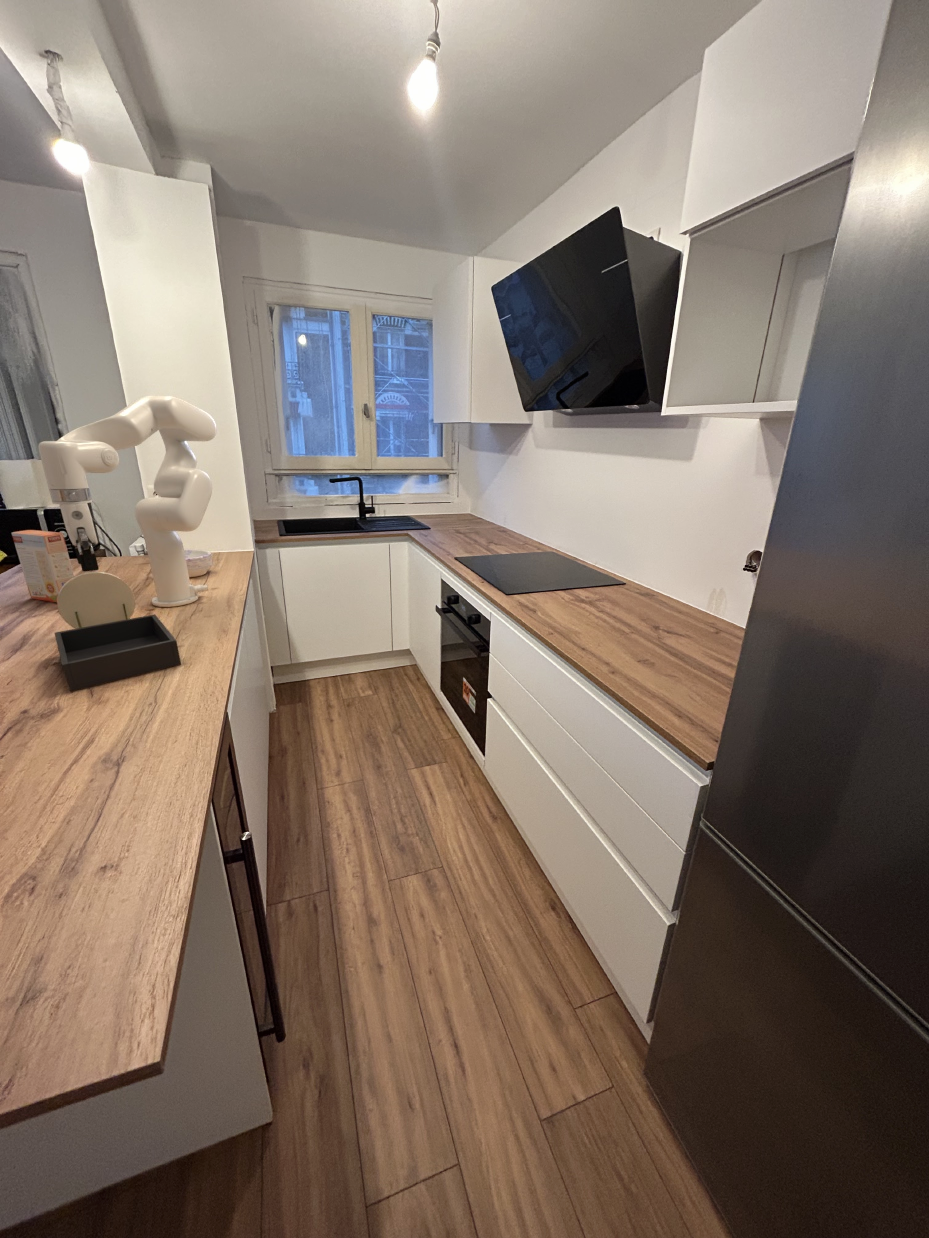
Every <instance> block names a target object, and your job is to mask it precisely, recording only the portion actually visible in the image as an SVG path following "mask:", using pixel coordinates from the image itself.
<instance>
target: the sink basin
mask: <svg viewBox="0 0 929 1238" xmlns="http://www.w3.org/2000/svg"><path fill="white" fill-rule="evenodd" d="M54 637H55V641H56V645H57V650H58V654H59V658H60V663H61V666H62V670H63V673H64V676H65V680H66V683H67V687H68V690H69V692H70V693H71V692H76V691H79V690H80V691H81V690H83V689H88V688H93V687H96V686H99V685H100V686H101V685H105V684H108V683H112V682H116V681H120V680H124V679H128V678H132V677H137V676H140V675H145V674H149V673H152V672H156V671H162V670H165V669H169V668H174V667H178V666H181V665H182V661H181V657H180V651H179V647H178V643H177V639H176V638H175V637H174V636H173V635H172V633H171V632H170V630H169V629H168V628H167V627H166V625H164V622H162V621H161V619H159V617H158V616H157V615H156V614H155V613H153V614H149V615H144V616H139V617H138V616H137V617H131V618H130V619H126V620H121V621H115V622H110V623H104V624H99V625H94V626H88V627H83V628H77V629H75V628H73V629H67V630H61V631H55V632H54Z"/></svg>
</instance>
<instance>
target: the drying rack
mask: <svg viewBox="0 0 929 1238" xmlns="http://www.w3.org/2000/svg"><path fill="white" fill-rule="evenodd" d="M122 605H123V609H124V613H125V617H126V619H129V618H128V614H127V610H126V605H125V604H122ZM75 616H76V619H77V623H78V627H79V628H82V626H81V623H80V619H79V615H78V612H77V611H76V612H75Z"/></svg>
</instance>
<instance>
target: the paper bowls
mask: <svg viewBox="0 0 929 1238" xmlns="http://www.w3.org/2000/svg"><path fill="white" fill-rule="evenodd" d="M184 553H185V558H186V563H187V569H188V574H189V578H196V577H197V578H198V577H201V576H204V575H205V574H207V572H208V570H209V568H210V567H212V566H213V565H214V563H213V556H212V552H211V551H209V550H206V549H184Z"/></svg>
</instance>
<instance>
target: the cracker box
mask: <svg viewBox="0 0 929 1238" xmlns="http://www.w3.org/2000/svg"><path fill="white" fill-rule="evenodd" d="M11 537H12V540H13V543H14V546H15V550H16V553H17V556H18V560H19V563H20V566H21V570H22V574H23V577H24V580H25V584H26V587H27V591H28V593H29V597H30V599H33V600H39V601H45V602H51V603H57V597H58V594H59V592H60V590H61V588H62V587H63V585H64V584H65V583H66V582H67V581H69V580H70V579H72V578H73V577H75V575H74V571H73V570H74V569H73V567H72V563H71V559H70V555H69V552H68V548H67V544H66V540H65V535H64V533H63V532H56V531H47V530H38V529H37V530H36V529H25V530H19V531H18V530H17V531H13V532H11Z"/></svg>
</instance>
